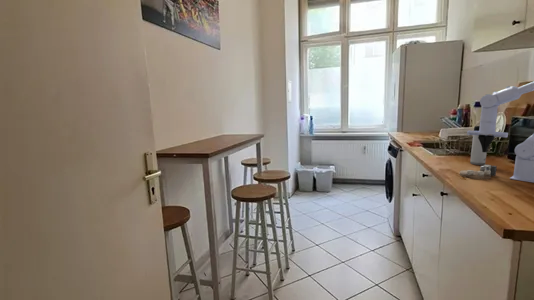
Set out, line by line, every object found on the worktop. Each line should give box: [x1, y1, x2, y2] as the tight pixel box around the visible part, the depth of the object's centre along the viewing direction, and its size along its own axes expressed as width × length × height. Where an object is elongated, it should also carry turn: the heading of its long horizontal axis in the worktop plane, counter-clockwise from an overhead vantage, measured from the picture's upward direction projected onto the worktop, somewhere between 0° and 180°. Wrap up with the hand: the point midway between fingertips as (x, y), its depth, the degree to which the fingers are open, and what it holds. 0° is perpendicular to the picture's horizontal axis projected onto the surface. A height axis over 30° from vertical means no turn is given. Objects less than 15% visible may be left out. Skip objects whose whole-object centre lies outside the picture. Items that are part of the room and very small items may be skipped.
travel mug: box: [469, 125, 490, 166], centre depth 146 cm, size 6×7×20 cm
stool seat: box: [459, 169, 491, 180], centre depth 125 cm, size 11×11×3 cm
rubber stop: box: [490, 165, 498, 177], centre depth 126 cm, size 1×2×4 cm, turn 128°
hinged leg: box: [479, 163, 493, 172], centre depth 126 cm, size 7×2×3 cm, turn 126°
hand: (484, 152), depth 130 cm, fingers closed
